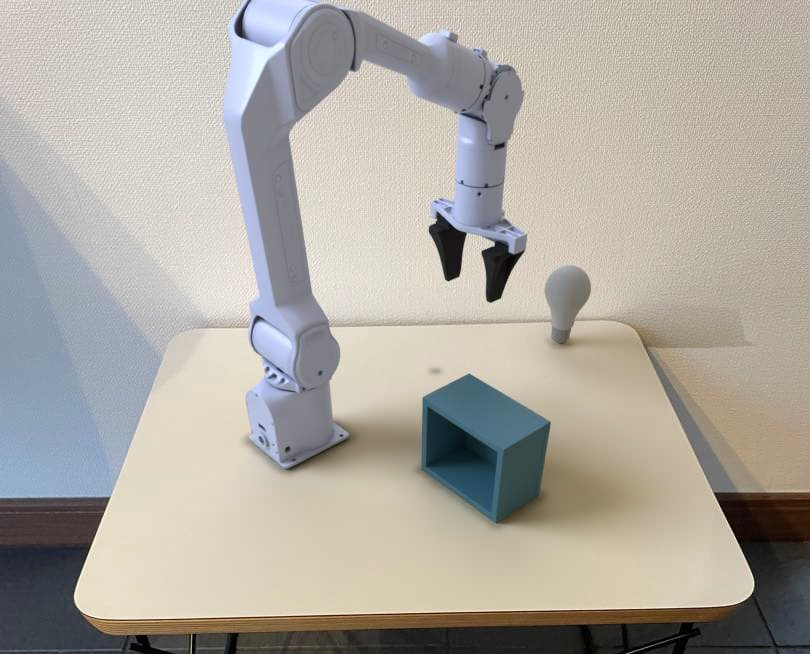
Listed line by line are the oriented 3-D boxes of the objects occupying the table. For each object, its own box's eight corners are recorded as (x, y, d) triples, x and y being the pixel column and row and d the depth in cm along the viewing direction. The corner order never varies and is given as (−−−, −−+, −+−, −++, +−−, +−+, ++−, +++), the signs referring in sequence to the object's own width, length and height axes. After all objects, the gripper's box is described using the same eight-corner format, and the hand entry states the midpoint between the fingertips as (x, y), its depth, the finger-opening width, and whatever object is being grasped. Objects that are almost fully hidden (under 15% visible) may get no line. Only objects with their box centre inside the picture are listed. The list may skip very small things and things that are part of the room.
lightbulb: (531, 346, 107) (541, 272, 100) (546, 327, 111) (557, 253, 103) (572, 357, 105) (586, 282, 98) (586, 337, 109) (600, 263, 101)
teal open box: (495, 523, 82) (503, 449, 75) (421, 469, 88) (422, 396, 81) (539, 494, 85) (551, 421, 78) (464, 444, 92) (469, 372, 85)
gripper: (550, 188, 87) (535, 299, 96) (461, 154, 94) (456, 260, 104) (507, 204, 83) (496, 317, 93) (418, 168, 91) (417, 276, 101)
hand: (472, 288), depth 98 cm, fingers open, 7 cm apart
